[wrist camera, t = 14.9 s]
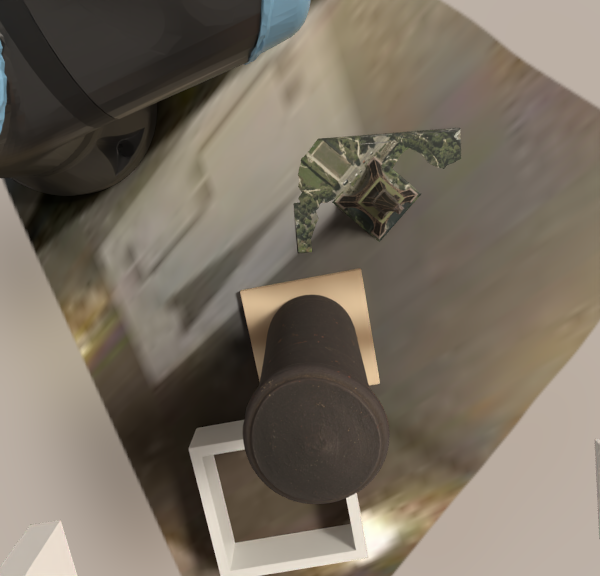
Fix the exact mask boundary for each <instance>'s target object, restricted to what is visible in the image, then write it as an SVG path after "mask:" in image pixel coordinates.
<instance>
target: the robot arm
mask: <svg viewBox="0 0 600 576" xmlns="http://www.w3.org/2000/svg"><path fill="white" fill-rule="evenodd" d="M309 6H310V0H0V178H11V179H13V180H15V181H16V182H18V183H20V184H21V185H23V186H26V187H28V188H30V189H33V190H36V191H39V192H42V193H47V194H52V195H60V196H74V195H83V194H89V193H94V192H98V191H101V190H104V189H107V188H109V187H111V186H113V185H115V184H117V183H118V182H120V181H121V180H123V179H124V178H126V177H127V176H128V175H129V174H130V173H131V172H132V171H133V170H134V169H135V168H136V167H137V166H138V165H139V163H140V162H141V160H142V159H143V157H144V156H145V154H146V152H147V150H148V148H149V146H150V144H151V141H152V138H153V135H154V131H155V127H156V120H157V102H159V101H161V100H163V99H166V98H168V97H170V96H172V95H175V94H177V93H179V92H181V91H184V90H186V89H188V88H190V87H193V86H195V85H197V84H199V83H202V82H204V81H206V80H208V79H211V78H213V77H215V76H217V75H220V74H222V73H224V72H226V71H229V70H231V69H233V68H235V67H238V66H240V65H242V64H244V65H246V64H249V63H250V62H252V61H254V60H255V59H256V58H257V57H258V56H259V54H261V53H263V52H265V51H266V50H268V49H270V48H272V47H274V46H276V45H277V44H279V43H281V42H283V41H285V40H287V39H289V38H290V37H292V36H293V35H294V34H295V33H296V32H297V31H298V30H299V29H300V28H301V26H302V25H303V24H304V22H305V19H306V17H307V14H308V11H309ZM595 456H596V476H597V497H598V519H599V538H600V439H595ZM0 576H77V573H76V570H75V566H74V563H73V560H72V556H71V553H70V550H69V546H68V543H67V540H66V537H65V533H64V530H63V527H62V523H61V520H58V521H51V522H45V523H38V524H31V525H30V526H29V527H28V529H27V530H26V532H25V533H24V534H23V536H22V537H21V539H20V540H19V541H18V543H17V544H16V545H15V547H14V548H13V550H12V551H11V552H10V554H9V555H8V557H7V558H6V559H5V561H4V562H3V563H2V565H1V566H0Z"/></svg>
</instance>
